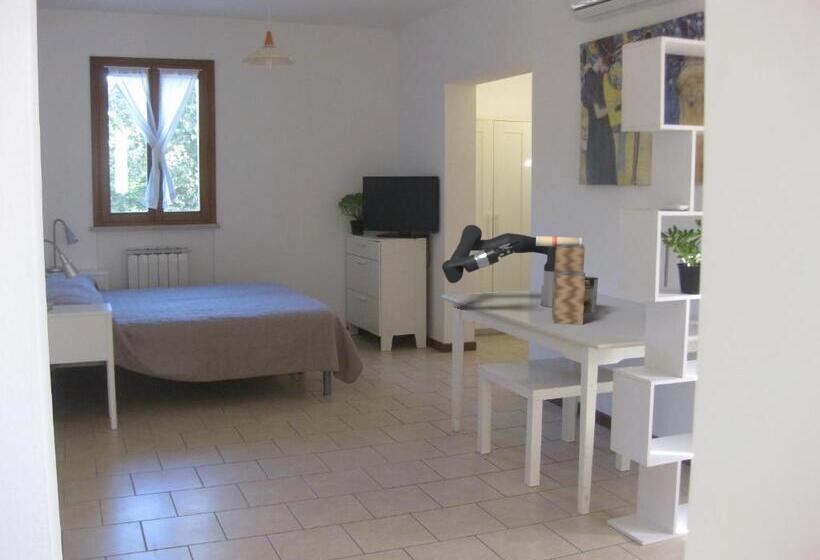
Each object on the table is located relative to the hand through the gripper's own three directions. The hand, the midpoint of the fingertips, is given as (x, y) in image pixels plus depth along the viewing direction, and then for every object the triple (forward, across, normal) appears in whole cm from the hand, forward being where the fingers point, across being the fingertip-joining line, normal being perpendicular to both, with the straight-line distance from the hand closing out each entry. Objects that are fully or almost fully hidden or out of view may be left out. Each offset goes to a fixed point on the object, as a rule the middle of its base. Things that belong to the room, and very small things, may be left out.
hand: (520, 243), depth 392 cm
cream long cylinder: (+15, -1, -8) cm, 17 cm away
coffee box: (+17, -22, -46) cm, 54 cm away
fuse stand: (+7, +7, -38) cm, 40 cm away
